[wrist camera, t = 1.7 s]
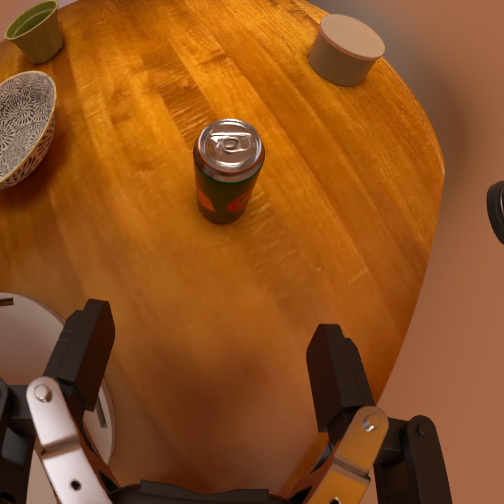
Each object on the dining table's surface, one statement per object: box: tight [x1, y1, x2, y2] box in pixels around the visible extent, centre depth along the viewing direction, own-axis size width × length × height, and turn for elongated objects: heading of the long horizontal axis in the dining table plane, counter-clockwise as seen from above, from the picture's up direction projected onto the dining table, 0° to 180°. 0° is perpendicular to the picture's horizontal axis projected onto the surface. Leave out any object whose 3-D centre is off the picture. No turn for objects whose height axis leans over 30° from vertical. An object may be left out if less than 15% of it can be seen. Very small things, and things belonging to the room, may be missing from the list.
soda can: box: [193, 118, 265, 223], centre depth 25 cm, size 5×5×12 cm
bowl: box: [0, 71, 57, 189], centre depth 25 cm, size 16×16×8 cm
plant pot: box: [5, 0, 63, 64], centre depth 27 cm, size 9×9×9 cm
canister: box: [308, 14, 385, 87], centre depth 34 cm, size 9×9×7 cm
